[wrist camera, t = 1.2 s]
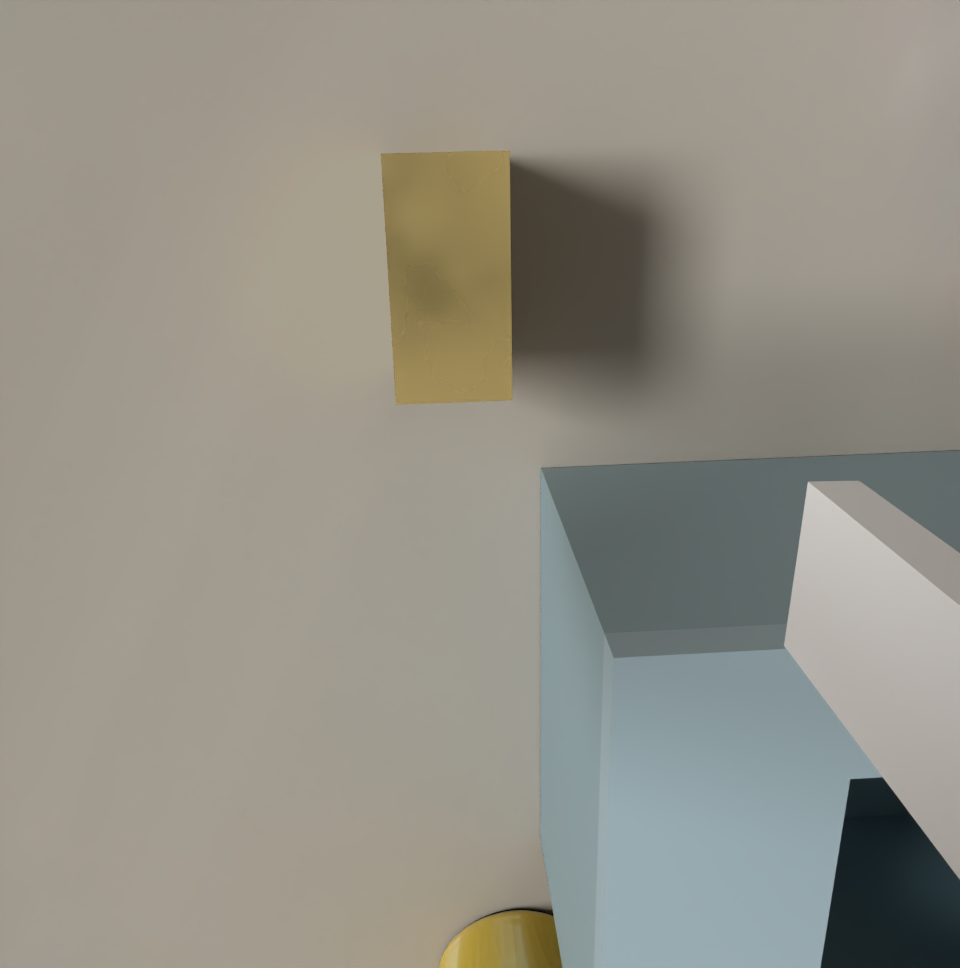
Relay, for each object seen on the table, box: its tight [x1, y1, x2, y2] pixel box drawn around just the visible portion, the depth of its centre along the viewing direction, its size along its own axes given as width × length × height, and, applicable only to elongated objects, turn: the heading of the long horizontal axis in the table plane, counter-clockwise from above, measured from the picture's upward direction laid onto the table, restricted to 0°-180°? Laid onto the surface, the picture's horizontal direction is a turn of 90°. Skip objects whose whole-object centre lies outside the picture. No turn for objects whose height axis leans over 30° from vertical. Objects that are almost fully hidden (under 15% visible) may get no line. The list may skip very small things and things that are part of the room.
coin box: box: [540, 450, 960, 968], centre depth 26 cm, size 16×16×12 cm
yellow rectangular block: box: [381, 151, 512, 405], centre depth 23 cm, size 6×3×6 cm, turn 1°
